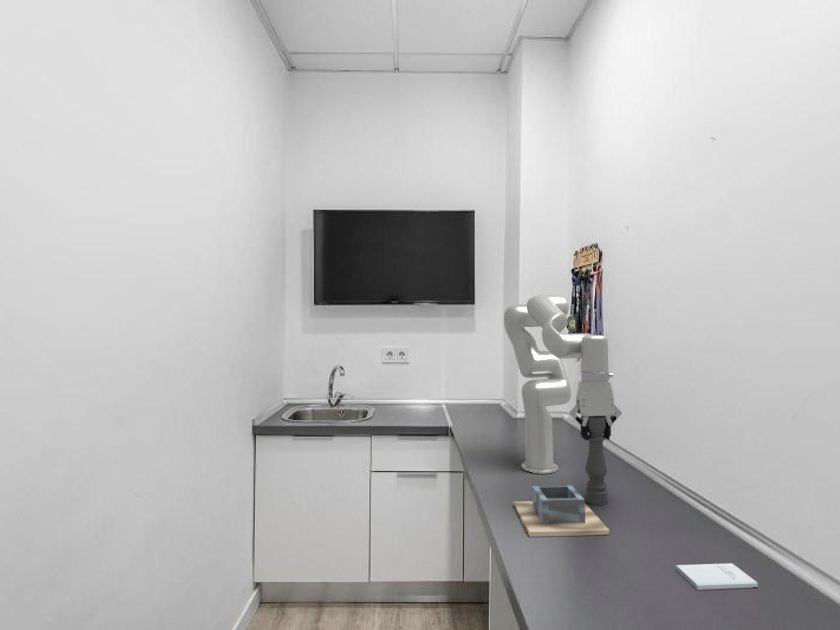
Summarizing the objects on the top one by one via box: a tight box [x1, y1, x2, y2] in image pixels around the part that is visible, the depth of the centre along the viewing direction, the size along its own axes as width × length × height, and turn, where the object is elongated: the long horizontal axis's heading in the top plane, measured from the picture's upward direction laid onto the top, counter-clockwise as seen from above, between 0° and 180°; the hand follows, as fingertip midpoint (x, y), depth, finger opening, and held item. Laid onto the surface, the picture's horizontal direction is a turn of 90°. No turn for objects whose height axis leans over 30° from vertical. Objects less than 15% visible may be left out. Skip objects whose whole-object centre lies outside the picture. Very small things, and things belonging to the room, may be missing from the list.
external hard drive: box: [674, 562, 759, 591], centre depth 105 cm, size 2×8×12 cm
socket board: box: [512, 484, 610, 538], centre depth 135 cm, size 20×20×7 cm
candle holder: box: [585, 416, 609, 506], centre depth 148 cm, size 6×6×25 cm
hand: (595, 438), depth 148 cm, fingers closed on candle holder, 5 cm apart
